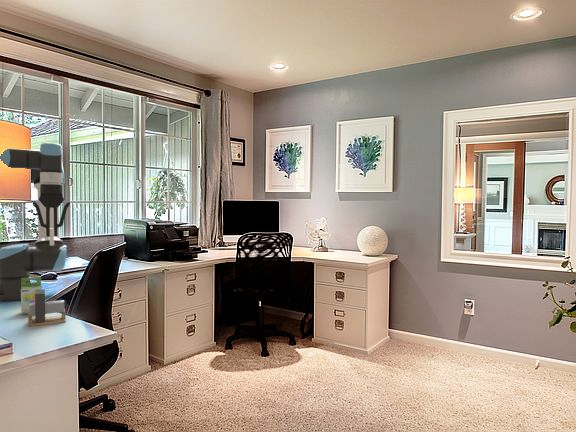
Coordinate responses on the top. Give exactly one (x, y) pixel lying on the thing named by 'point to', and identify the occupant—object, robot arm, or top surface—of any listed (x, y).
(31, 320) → the board
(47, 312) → the pipe
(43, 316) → the grey upright block
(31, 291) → the ink box
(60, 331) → the top surface
